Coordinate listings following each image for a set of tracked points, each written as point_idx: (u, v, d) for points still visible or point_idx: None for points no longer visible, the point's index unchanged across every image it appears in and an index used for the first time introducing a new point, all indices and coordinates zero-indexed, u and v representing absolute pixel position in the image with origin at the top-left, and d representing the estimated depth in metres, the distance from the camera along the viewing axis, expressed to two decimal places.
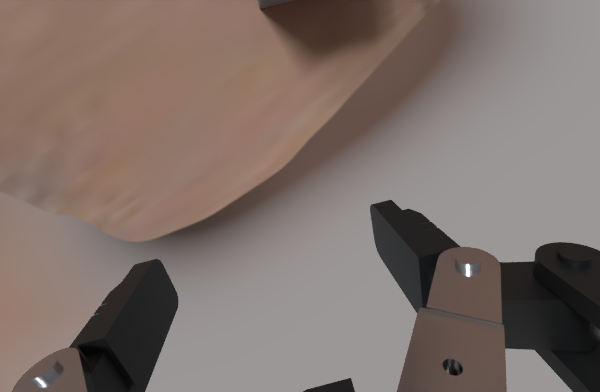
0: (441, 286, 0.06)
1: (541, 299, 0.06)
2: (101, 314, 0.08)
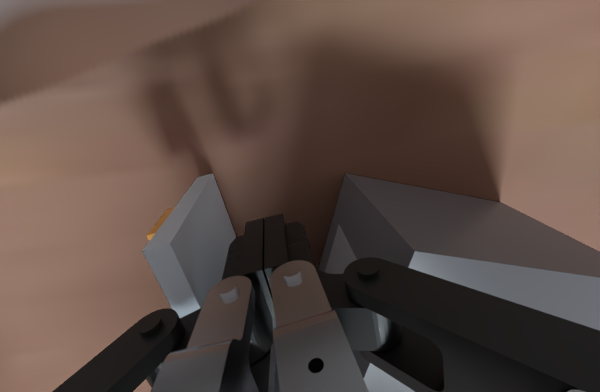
0: (281, 303, 0.07)
1: (338, 307, 0.07)
2: (244, 255, 0.09)
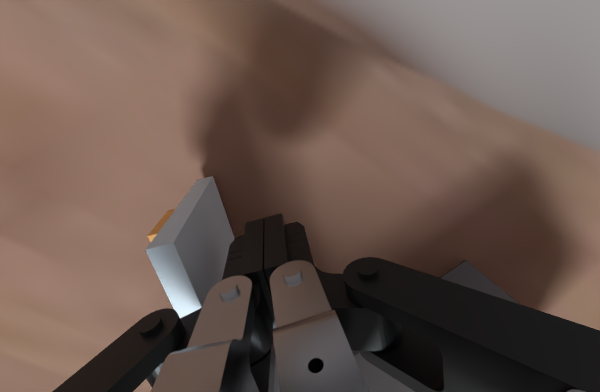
0: (281, 303, 0.07)
1: (337, 307, 0.07)
2: (244, 256, 0.09)
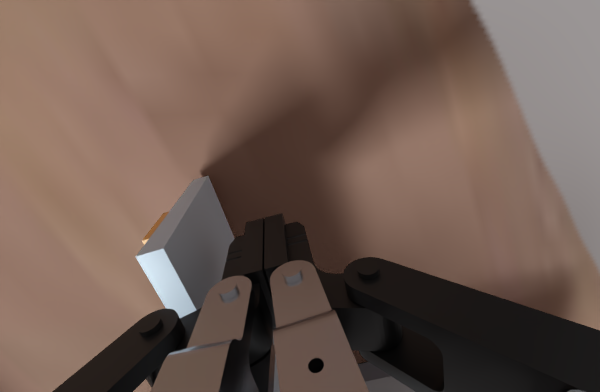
0: (281, 303, 0.07)
1: (338, 307, 0.07)
2: (244, 256, 0.09)
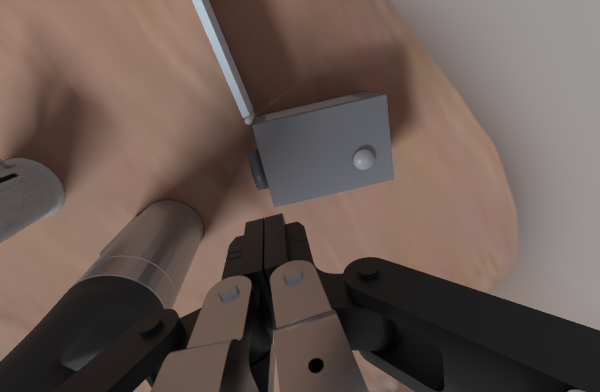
0: (281, 303, 0.07)
1: (338, 307, 0.07)
2: (244, 255, 0.09)
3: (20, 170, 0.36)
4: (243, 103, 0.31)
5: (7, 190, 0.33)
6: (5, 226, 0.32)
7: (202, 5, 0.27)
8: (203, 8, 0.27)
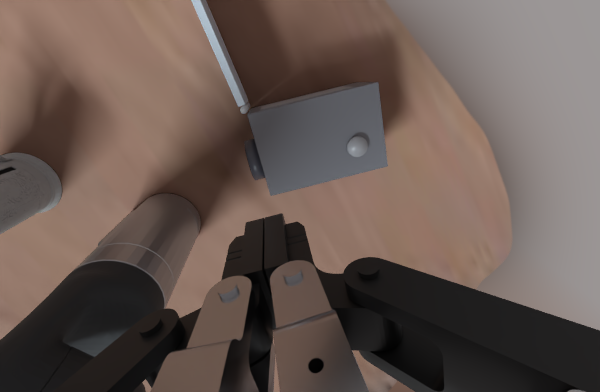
0: (281, 303, 0.07)
1: (338, 307, 0.07)
2: (244, 255, 0.09)
3: (17, 164, 0.36)
4: (238, 92, 0.32)
5: (5, 182, 0.33)
6: (3, 218, 0.32)
7: None
8: None
